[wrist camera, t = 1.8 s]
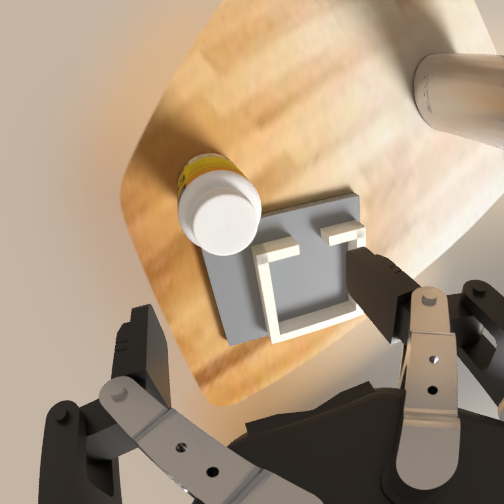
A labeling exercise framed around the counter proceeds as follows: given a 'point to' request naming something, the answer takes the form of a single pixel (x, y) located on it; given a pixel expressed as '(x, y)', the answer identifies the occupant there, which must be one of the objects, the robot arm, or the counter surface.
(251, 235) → the supplement bottle
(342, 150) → the counter surface
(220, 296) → the grey board with frame
